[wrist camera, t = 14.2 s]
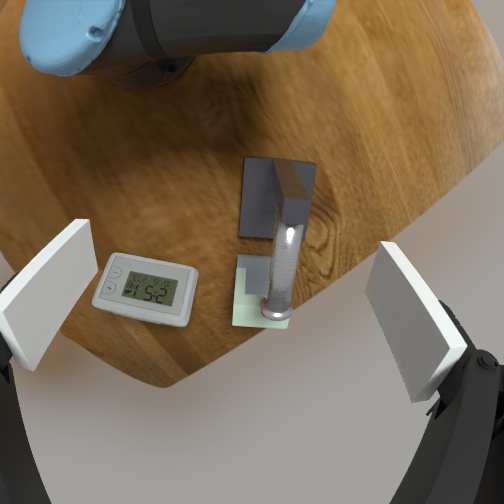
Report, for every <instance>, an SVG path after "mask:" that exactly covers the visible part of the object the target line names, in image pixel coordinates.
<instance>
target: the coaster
mask: <svg viewBox="0 0 504 504" xmlns="http://www.w3.org/2000/svg"><path fill="white" fill-rule="evenodd" d="M270 261H271V257H270V256H257V255H243V254H238V259H237V267H239V268H246V281H245V294H251V295H266V291H267V284H268V276H269V269H270Z"/></svg>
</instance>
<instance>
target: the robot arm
mask: <svg viewBox="0 0 504 504" xmlns="http://www.w3.org/2000/svg"><path fill="white" fill-rule="evenodd" d="M336 1H337V0H27V3H26V5H25V7H24V10H23V13H22V17H21V22H20V29H19V40H20V47H21V50H22V53H23V56H24V58H25V59H26V61H27V62H29V63H30V65H32V66H33V68H34V69H36V70H37V71H40V72H42V73H46V74H54V75H58V76H60V77H63V76H66V77H68V76H72V75H104V76H105V77H106V78H107V79H108V80H109V81H111V82H112V83H114V84H116V85H118V86H120V87H123V88H127V89H151V88H156V87H159V86H162V85H164V84H166V83H168V82H170V81H172V80H173V79H175V78H176V77H177V76H179V75H180V74H181V73H182V72H183V71H184V70H185V69H186V68H187V67H188V66H189V64H190V63H191V62H192V60H193V58H194V56H195V55H202V54H213V53H228V52H255V51H257V52H259V53H261V54H267V53H271V52H273V51H300V50H303V49H306V48H308V47H311V46H312V45H314V44H315V43H316V42H317V41H318V40H319V39H320V38H321V36H322V35H323V33H324V32H325V30H326V28H327V26H328V24H329V22H330V19H331V17H332V14H333V11H334V8H335V4H336ZM97 272H98V267H97V262H96V257H95V252H94V246H93V240H92V234H91V228H90V221H89V219H75V220H74V221H73V222H72V223H71V224H70V225H69V226H67V227H66V228H65V229H64V230H63V231H62V232H61V233H60V234H59V235H58V236H56V237H55V238H54V239H53V240H52V241H51V242H50V243H49V244H48V245H47V246H46V247H45V248H44V249H43V250H42V251H41V252H40V253H39V254H38V255H37V256H36V257H35V258H34V259H33V260H32V261H31V262H30V263H29V264H28V265H27V266H26V267H25V268H24V269H23V270H21V271H20V272H18V273H16V274H15V275H14V276H13V277H12V278H11V279H10V280H9V281H8V282H7V284H6V285H4V286H3V288H2V289H1V291H0V504H51V501H50V499H49V497H48V495H47V492H46V490H45V487H44V485H43V482H42V480H41V477H40V474H39V472H38V469H37V466H36V463H35V460H34V457H33V454H32V451H31V448H30V445H29V442H28V438H27V435H26V431H25V427H24V424H23V420H22V415H21V411H20V407H19V402H18V397H17V393H16V387H15V382H14V376H13V369H12V367H11V364H10V363H9V360H10V359H11V357H12V356H13V357H14V358H15V360H16V362H17V364H18V365H19V366H20V367H22V368H25V369H28V370H31V371H33V372H34V370H35V368H36V367H37V365H38V363H39V361H40V360H41V358H42V356H43V355H44V353H45V351H46V349H47V348H48V346H49V344H50V343H51V341H52V339H53V338H54V336H55V334H56V333H57V331H58V330H59V328H60V327H61V325H62V323H63V322H64V320H65V319H66V317H67V316H68V314H69V313H70V311H71V309H72V308H73V306H74V305H75V303H76V302H77V300H78V299H79V297H80V296H81V295H82V293H83V292H84V290H85V289H86V287H87V286H88V284H89V283H90V282H91V280H92V279H93V277H94V276H95V275H96V273H97ZM365 293H366V295H367V297H368V300H369V302H370V304H371V306H372V308H373V310H374V313H375V315H376V317H377V319H378V321H379V324H380V326H381V328H382V330H383V332H384V335H385V337H386V339H387V342H388V344H389V346H390V349H391V351H392V354H393V356H394V358H395V361H396V363H397V366H398V368H399V371H400V373H401V376H402V378H403V381H404V383H405V386H406V388H407V391H408V394H409V396H410V399H411V402H412V403H414V402H420V401H426V400H429V399H430V398H431V397H432V395H433V394H434V392H435V391H436V390H438V392H439V394H440V398H439V399H438V400H437V401H436V403H435V404H434V405H433V406H432V407H431V408H430V410H429V411H428V412H427V414H426V415H427V416H428V415H429V414H430V413H431V412H432V415H431V417H430V420H429V423H428V425H427V428H426V430H425V433H424V435H423V437H422V440H421V442H420V445H419V447H418V449H417V451H416V453H415V456H414V458H413V460H412V462H411V464H410V466H409V468H408V470H407V472H406V474H405V476H404V478H403V480H402V482H401V484H400V486H399V487H398V489H397V491H396V493H395V495H394V497H393V498H392V500H391V502H390V503H389V504H504V365H499V363H498V361H497V359H496V358H495V357H494V356H493V355H492V354H491V353H489V352H488V351H485V350H477V349H476V348H475V346H474V344H473V343H472V341H471V340H470V338H469V336H468V335H467V333H466V332H465V330H464V329H463V327H462V326H460V323H459V321H458V320H457V319H455V315H454V314H453V312H452V311H451V310H450V308H449V307H448V306H446V305H445V304H444V303H443V302H442V301H440V300H437V299H436V297H435V296H434V294H433V293H432V291H431V290H430V289H429V287H428V286H427V285H426V283H425V282H424V281H423V279H422V278H421V277H420V275H419V274H418V272H417V271H416V270H415V268H414V267H413V266H412V264H411V263H410V262H409V261H408V259H407V258H406V257H405V255H404V254H403V253H402V251H401V250H400V249H399V248H398V247H397V245H396V244H395V243H393V242H384V241H380V243H379V247H378V250H377V254H376V257H375V261H374V263H373V267H372V270H371V273H370V276H369V280H368V282H367V286H366V288H365Z"/></svg>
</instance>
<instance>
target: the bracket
mask: <svg viewBox="0 0 504 504" xmlns="http://www.w3.org/2000/svg"><path fill="white" fill-rule="evenodd" d="M245 281H246V268H239V267H237V270H236V282H235V294H234V306H233V323H232V325H234V326H248V327H265V328H285V329H287V327H288V322H289V318H288V319H287V320H284V321H272V320H269V319H267V318H265V317H264V316H263V315H262V314H261V313H260V303H261V300H262V299H263V298H265V297H266V295H251V294H245Z"/></svg>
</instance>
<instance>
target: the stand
mask: <svg viewBox="0 0 504 504" xmlns="http://www.w3.org/2000/svg"><path fill="white" fill-rule="evenodd" d="M316 168H317V165H316V163H314V162H306V161H297V160H288V159H279V158H268V157H257V156H245V165H244V177H243V190H242V203H241V216H240V230H239V236H246V237H259V238H271V239H273V246H272V254H271V261H270V269H269V276H268V284H267V291H266V297H265V298H263V299H262V300H261V303H260V313H261V314H262V315H263V316H264V317H265V318H267V319H269V320H272V321H284V320H287V319H288V318H289V317H290V316H291V315H292V310H293V304H292V303H291V301H290V298H291V293H292V288H293V283H294V278H295V272H296V267H297V261H298V256H299V250H300V245H301V241H304V240H305V235H306V229H307V224H308V219H309V213H310V207H311V201H312V193H313V187H314V181H315V174H316Z"/></svg>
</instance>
